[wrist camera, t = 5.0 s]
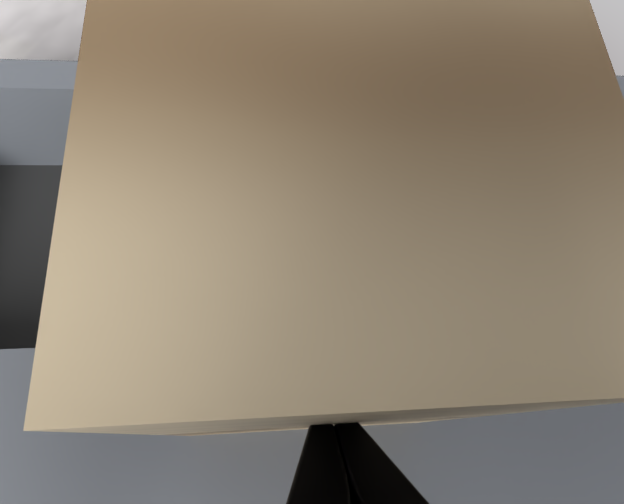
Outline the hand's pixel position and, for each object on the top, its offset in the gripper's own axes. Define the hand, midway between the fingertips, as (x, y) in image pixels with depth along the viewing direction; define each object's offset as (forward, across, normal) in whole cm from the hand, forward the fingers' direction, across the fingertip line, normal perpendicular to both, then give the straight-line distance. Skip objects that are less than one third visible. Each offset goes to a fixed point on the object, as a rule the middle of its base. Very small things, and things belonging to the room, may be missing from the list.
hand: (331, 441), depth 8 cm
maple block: (+5, 0, +1) cm, 5 cm away
